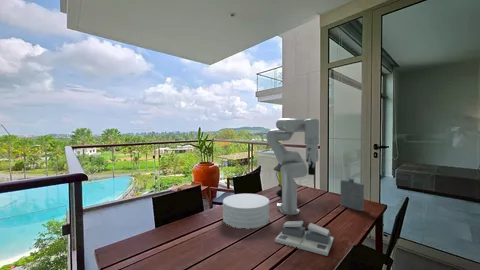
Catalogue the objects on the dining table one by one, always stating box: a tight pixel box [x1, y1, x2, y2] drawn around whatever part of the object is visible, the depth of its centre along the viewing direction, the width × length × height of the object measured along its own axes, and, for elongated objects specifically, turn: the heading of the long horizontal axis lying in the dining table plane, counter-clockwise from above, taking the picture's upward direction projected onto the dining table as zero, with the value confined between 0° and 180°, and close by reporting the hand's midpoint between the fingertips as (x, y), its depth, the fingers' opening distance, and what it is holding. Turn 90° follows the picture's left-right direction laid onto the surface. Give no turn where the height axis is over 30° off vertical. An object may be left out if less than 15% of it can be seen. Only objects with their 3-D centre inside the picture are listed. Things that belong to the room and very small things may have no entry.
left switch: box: [282, 220, 304, 227], centre depth 117 cm, size 9×4×1 cm, turn 59°
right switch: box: [307, 222, 330, 236], centre depth 110 cm, size 9×4×1 cm, turn 59°
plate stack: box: [222, 193, 270, 230], centre depth 140 cm, size 28×28×12 cm
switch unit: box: [274, 226, 335, 257], centre depth 112 cm, size 24×16×4 cm, turn 59°
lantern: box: [273, 162, 282, 197], centre depth 188 cm, size 25×19×30 cm
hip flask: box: [339, 177, 365, 212], centre depth 157 cm, size 16×4×20 cm, turn 34°
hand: (311, 174), depth 127 cm, fingers closed
